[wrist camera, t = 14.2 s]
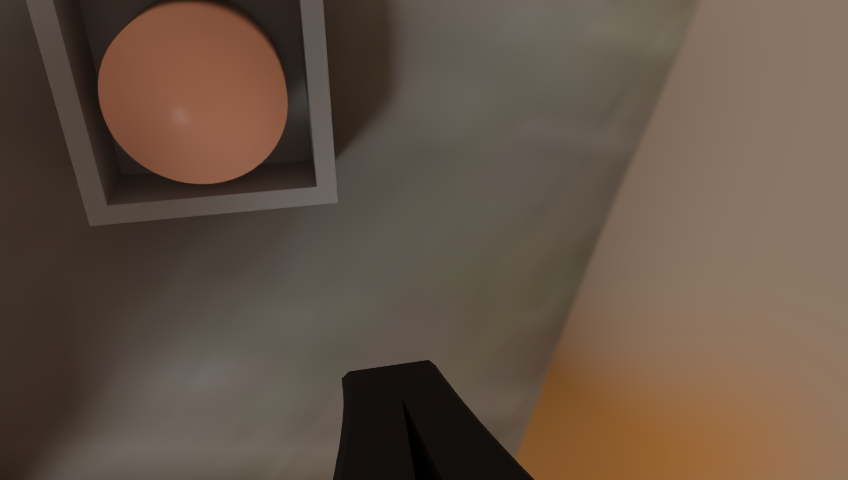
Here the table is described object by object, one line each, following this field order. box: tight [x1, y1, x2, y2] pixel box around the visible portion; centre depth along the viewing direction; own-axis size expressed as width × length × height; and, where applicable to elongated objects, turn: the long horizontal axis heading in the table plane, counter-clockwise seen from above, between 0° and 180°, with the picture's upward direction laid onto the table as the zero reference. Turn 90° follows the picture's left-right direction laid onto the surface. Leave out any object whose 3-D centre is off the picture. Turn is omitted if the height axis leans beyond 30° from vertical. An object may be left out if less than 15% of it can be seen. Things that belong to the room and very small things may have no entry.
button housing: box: [26, 0, 338, 226], centre depth 16 cm, size 6×6×2 cm
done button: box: [98, 0, 288, 184], centre depth 15 cm, size 4×4×2 cm
